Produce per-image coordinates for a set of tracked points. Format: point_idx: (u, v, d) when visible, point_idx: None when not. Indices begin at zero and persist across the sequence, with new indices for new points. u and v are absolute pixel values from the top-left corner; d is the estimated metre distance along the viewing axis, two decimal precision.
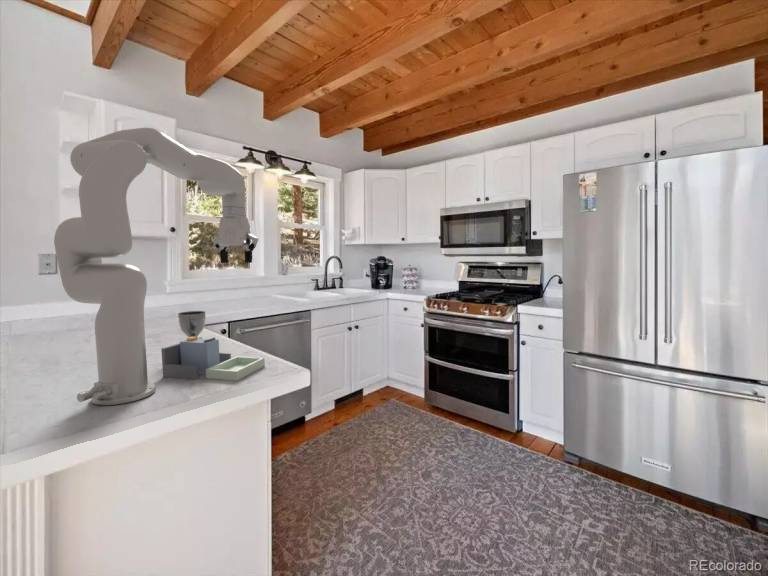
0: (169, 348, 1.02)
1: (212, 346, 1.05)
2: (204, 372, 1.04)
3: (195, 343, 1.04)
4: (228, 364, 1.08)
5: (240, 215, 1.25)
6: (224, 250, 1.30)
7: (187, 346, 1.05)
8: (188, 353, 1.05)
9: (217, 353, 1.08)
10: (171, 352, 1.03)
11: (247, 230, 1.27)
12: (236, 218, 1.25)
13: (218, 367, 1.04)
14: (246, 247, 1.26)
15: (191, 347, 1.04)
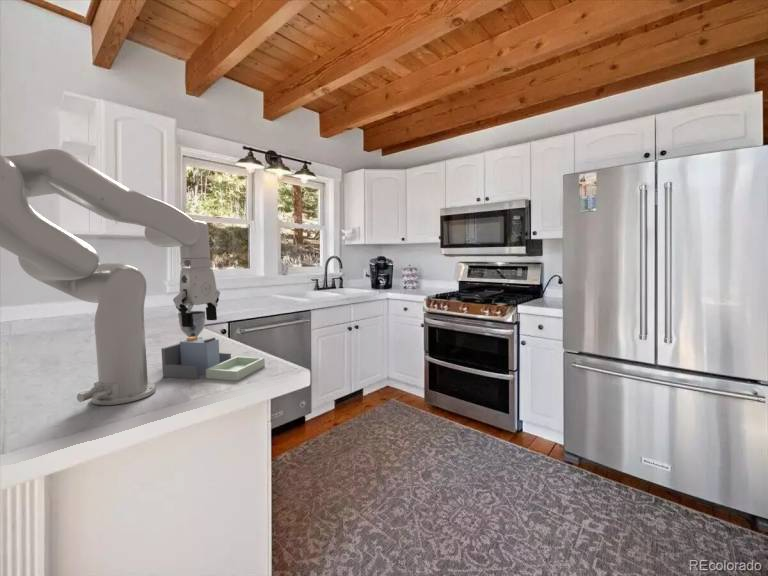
0: (169, 348, 1.02)
1: (212, 346, 1.05)
2: (204, 372, 1.04)
3: (195, 343, 1.04)
4: (228, 364, 1.08)
5: None
6: None
7: (187, 346, 1.05)
8: (188, 353, 1.05)
9: (217, 353, 1.08)
10: (171, 352, 1.03)
11: None
12: (210, 271, 1.07)
13: (218, 367, 1.04)
14: (214, 303, 1.11)
15: (191, 347, 1.04)
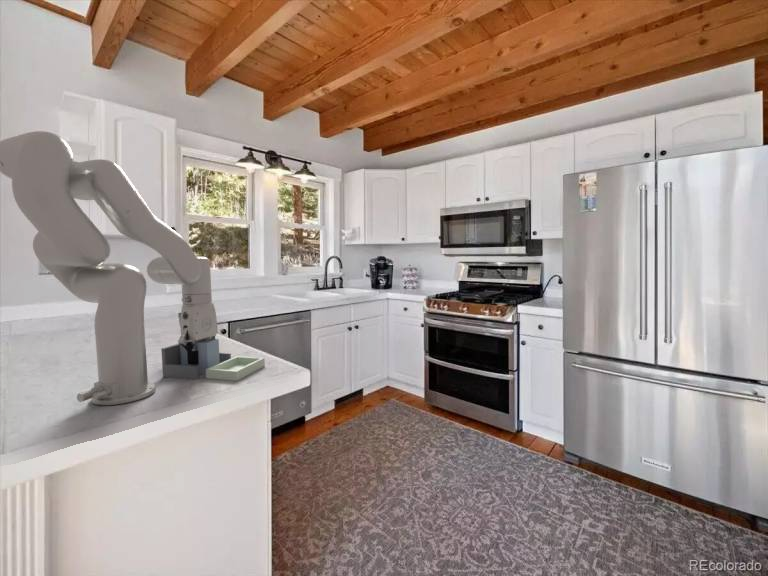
0: (169, 348, 1.02)
1: (212, 346, 1.05)
2: (204, 372, 1.04)
3: None
4: (228, 364, 1.08)
5: None
6: None
7: None
8: None
9: (217, 353, 1.08)
10: (171, 352, 1.03)
11: None
12: (211, 305, 1.08)
13: (218, 367, 1.04)
14: None
15: None
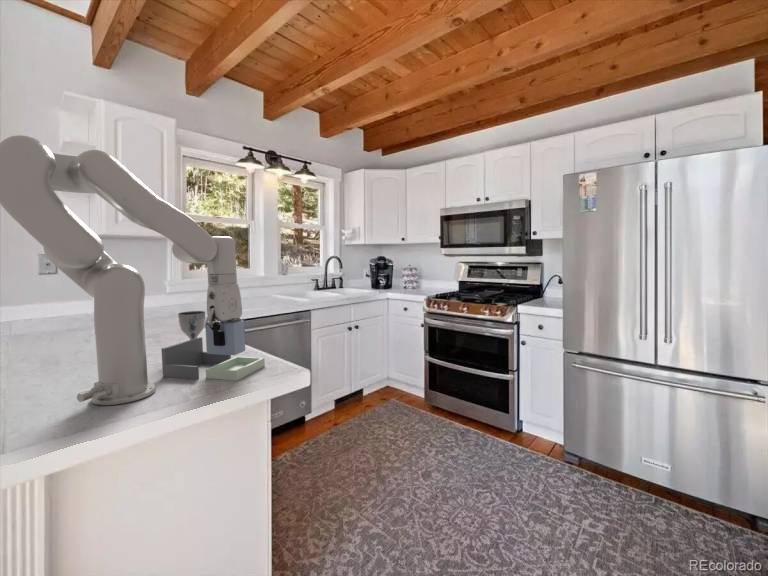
0: (169, 348, 1.02)
1: (238, 327, 1.04)
2: (230, 353, 1.03)
3: None
4: (228, 364, 1.08)
5: None
6: None
7: None
8: None
9: (243, 334, 1.06)
10: (171, 352, 1.03)
11: None
12: (236, 286, 1.06)
13: (218, 367, 1.04)
14: None
15: None
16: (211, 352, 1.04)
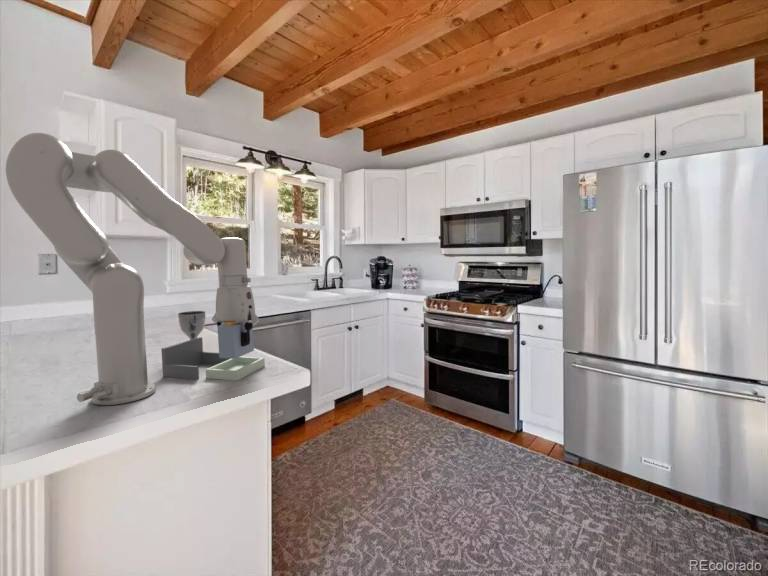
0: (169, 348, 1.02)
1: None
2: (251, 350, 1.08)
3: None
4: (228, 364, 1.08)
5: None
6: None
7: (238, 328, 1.02)
8: (240, 336, 1.03)
9: None
10: (171, 352, 1.03)
11: None
12: None
13: (218, 367, 1.04)
14: None
15: None
16: (238, 355, 1.02)
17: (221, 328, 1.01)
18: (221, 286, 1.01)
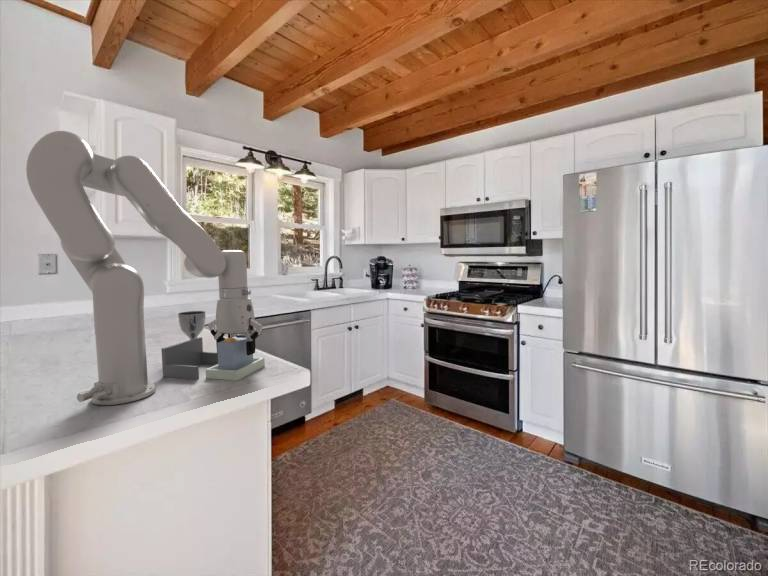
0: (169, 348, 1.02)
1: None
2: None
3: (244, 340, 1.05)
4: None
5: None
6: None
7: (238, 345, 1.02)
8: (239, 352, 1.03)
9: None
10: (171, 352, 1.03)
11: None
12: None
13: None
14: None
15: (241, 346, 1.04)
16: None
17: (221, 345, 1.01)
18: (221, 298, 1.01)
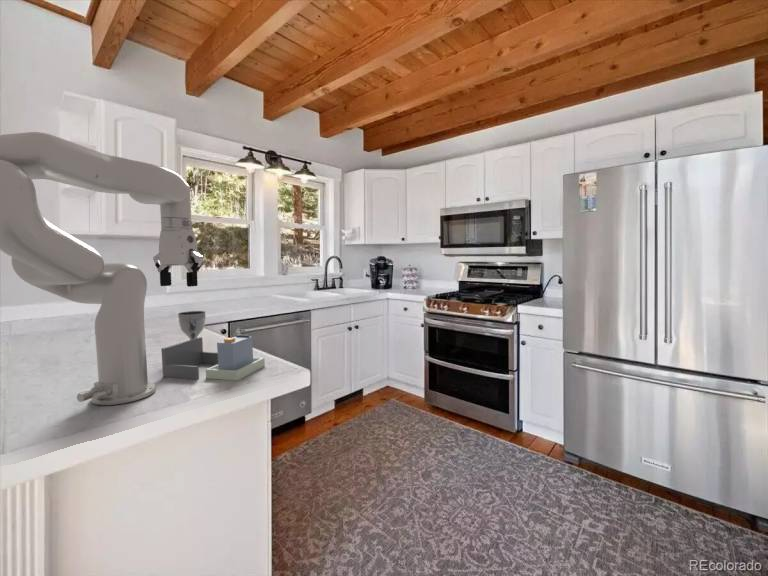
0: (169, 348, 1.02)
1: None
2: None
3: (244, 340, 1.05)
4: None
5: None
6: None
7: (238, 345, 1.02)
8: (239, 352, 1.03)
9: None
10: (171, 352, 1.03)
11: None
12: None
13: None
14: None
15: (241, 346, 1.04)
16: None
17: (221, 345, 1.01)
18: (162, 228, 1.01)
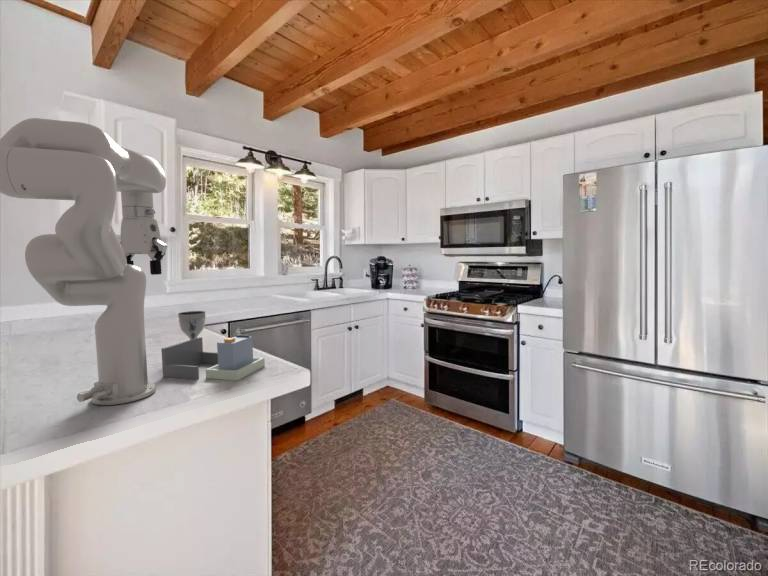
0: (169, 348, 1.02)
1: None
2: None
3: (244, 340, 1.05)
4: None
5: None
6: None
7: (238, 345, 1.02)
8: (239, 352, 1.03)
9: None
10: (171, 352, 1.03)
11: None
12: None
13: None
14: None
15: (241, 346, 1.04)
16: None
17: (221, 345, 1.01)
18: (123, 216, 1.01)
